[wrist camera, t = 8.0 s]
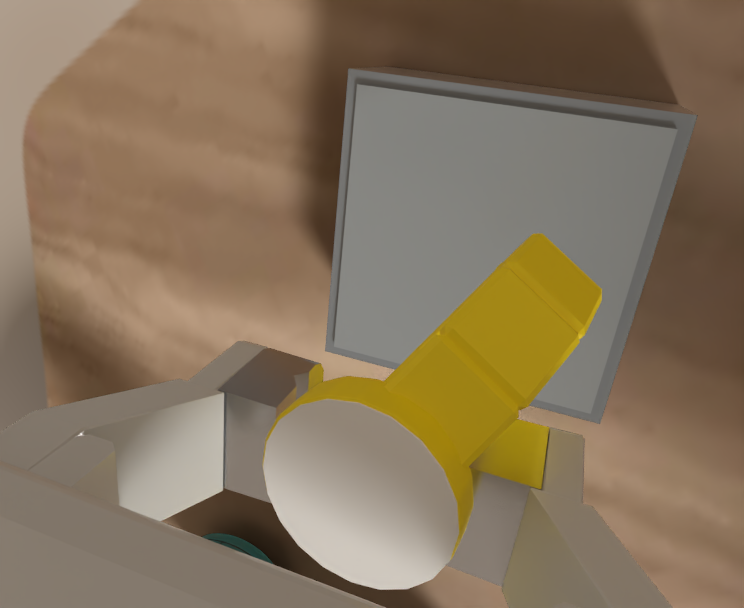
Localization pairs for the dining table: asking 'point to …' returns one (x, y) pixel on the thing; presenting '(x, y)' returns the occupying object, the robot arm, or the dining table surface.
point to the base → (494, 209)
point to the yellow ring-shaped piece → (423, 425)
